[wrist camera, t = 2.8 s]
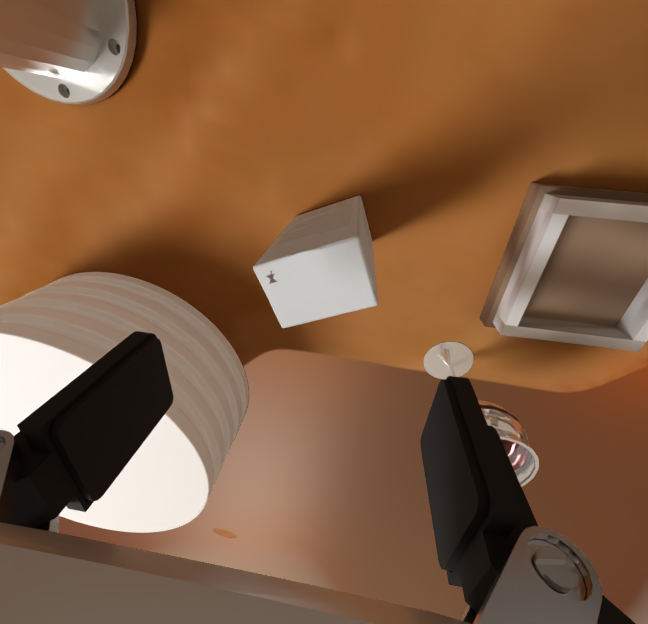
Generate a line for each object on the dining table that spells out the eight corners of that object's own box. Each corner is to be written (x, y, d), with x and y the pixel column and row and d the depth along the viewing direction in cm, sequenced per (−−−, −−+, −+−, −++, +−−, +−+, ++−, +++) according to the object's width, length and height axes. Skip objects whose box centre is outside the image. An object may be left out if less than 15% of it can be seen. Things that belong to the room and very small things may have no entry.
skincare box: (310, 260, 28) (278, 331, 18) (294, 215, 27) (248, 265, 16) (375, 242, 27) (380, 308, 17) (362, 193, 25) (359, 232, 15)
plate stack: (-5, 246, 32) (-169, 295, 22) (256, 302, 32) (205, 377, 22) (63, 423, 46) (-19, 500, 36) (244, 463, 46) (210, 553, 36)
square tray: (531, 182, 23) (555, 189, 20) (702, 197, 22) (754, 207, 19) (479, 317, 29) (492, 338, 26) (612, 333, 28) (641, 357, 25)
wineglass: (401, 358, 33) (417, 461, 22) (457, 322, 30) (505, 421, 19) (440, 394, 35) (471, 505, 24) (496, 364, 32) (559, 474, 21)
